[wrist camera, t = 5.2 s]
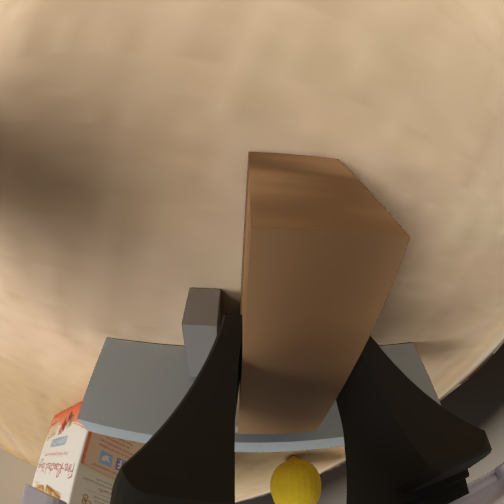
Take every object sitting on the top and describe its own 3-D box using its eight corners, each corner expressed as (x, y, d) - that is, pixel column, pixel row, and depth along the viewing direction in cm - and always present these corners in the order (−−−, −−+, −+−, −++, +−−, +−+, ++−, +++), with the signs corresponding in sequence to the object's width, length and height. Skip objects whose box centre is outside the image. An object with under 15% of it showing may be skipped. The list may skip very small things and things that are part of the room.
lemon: (261, 461, 29) (264, 519, 22) (281, 447, 26) (286, 514, 19) (302, 463, 30) (308, 517, 23) (325, 448, 27) (335, 509, 20)
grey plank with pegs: (112, 352, 17) (87, 430, 12) (86, 280, 14) (38, 367, 9) (404, 356, 18) (432, 426, 13) (439, 290, 15) (487, 366, 10)
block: (237, 336, 16) (235, 434, 11) (246, 151, 11) (245, 227, 6) (302, 337, 16) (317, 432, 11) (340, 159, 11) (413, 237, 6)
